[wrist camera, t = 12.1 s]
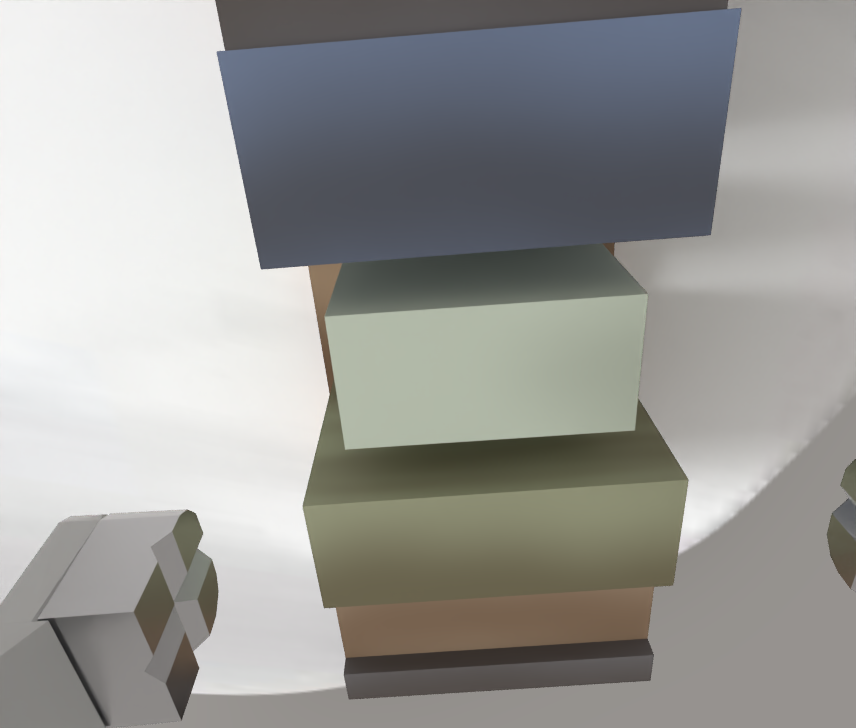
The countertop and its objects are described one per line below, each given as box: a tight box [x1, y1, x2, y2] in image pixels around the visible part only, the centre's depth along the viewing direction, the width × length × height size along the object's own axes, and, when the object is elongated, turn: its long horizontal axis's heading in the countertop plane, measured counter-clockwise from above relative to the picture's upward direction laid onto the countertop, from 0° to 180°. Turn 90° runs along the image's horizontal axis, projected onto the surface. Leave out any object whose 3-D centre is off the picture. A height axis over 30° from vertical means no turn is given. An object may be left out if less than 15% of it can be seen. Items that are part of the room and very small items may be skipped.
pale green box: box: [324, 243, 648, 450], centre depth 16 cm, size 3×6×9 cm, turn 94°
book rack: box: [215, 0, 741, 699], centre depth 16 cm, size 24×10×11 cm, turn 4°
